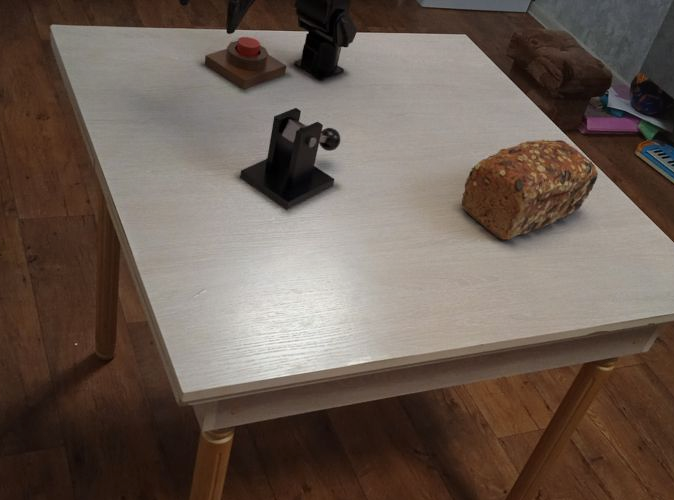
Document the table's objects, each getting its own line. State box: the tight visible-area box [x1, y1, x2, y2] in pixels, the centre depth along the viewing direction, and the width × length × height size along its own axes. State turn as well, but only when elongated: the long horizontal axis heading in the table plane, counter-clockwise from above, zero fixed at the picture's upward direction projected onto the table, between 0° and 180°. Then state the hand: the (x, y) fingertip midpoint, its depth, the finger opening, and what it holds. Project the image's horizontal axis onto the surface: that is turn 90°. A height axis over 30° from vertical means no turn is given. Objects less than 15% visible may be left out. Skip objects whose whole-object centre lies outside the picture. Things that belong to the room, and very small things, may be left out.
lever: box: [282, 119, 342, 152], centre depth 115 cm, size 12×3×3 cm, turn 140°
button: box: [237, 36, 261, 57], centre depth 135 cm, size 4×4×2 cm
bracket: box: [239, 107, 335, 210], centre depth 114 cm, size 10×9×10 cm
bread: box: [461, 139, 599, 241], centre depth 121 cm, size 19×11×10 cm, turn 129°
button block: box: [204, 40, 287, 90], centre depth 136 cm, size 10×9×4 cm
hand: (206, 19), depth 115 cm, fingers open, 9 cm apart
